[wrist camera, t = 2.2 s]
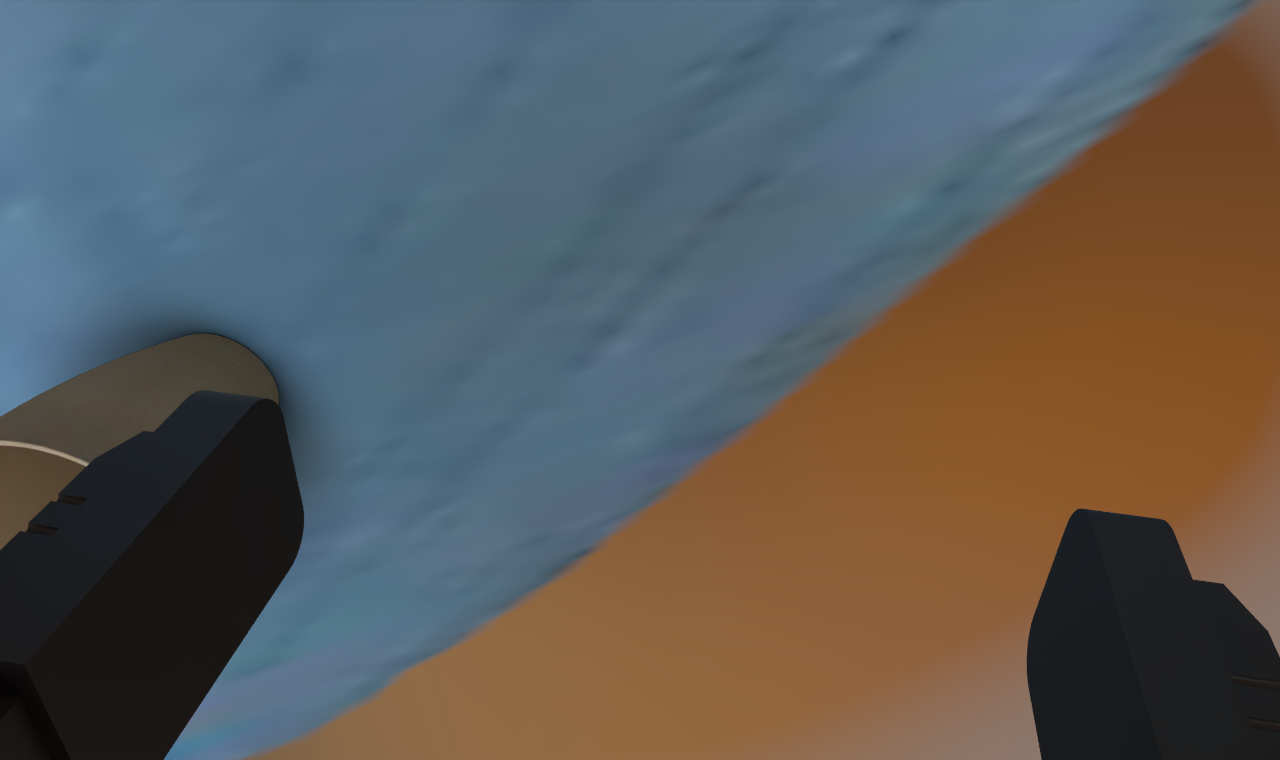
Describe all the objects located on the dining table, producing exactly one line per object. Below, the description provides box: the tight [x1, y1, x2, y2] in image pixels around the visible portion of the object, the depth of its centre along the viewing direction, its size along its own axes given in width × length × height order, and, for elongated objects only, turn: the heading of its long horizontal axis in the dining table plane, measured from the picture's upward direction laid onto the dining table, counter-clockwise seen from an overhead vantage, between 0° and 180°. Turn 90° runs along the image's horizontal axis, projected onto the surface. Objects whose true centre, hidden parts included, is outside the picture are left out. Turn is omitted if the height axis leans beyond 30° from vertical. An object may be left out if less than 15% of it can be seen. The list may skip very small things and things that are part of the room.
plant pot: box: [0, 334, 279, 550], centre depth 55 cm, size 15×15×16 cm
